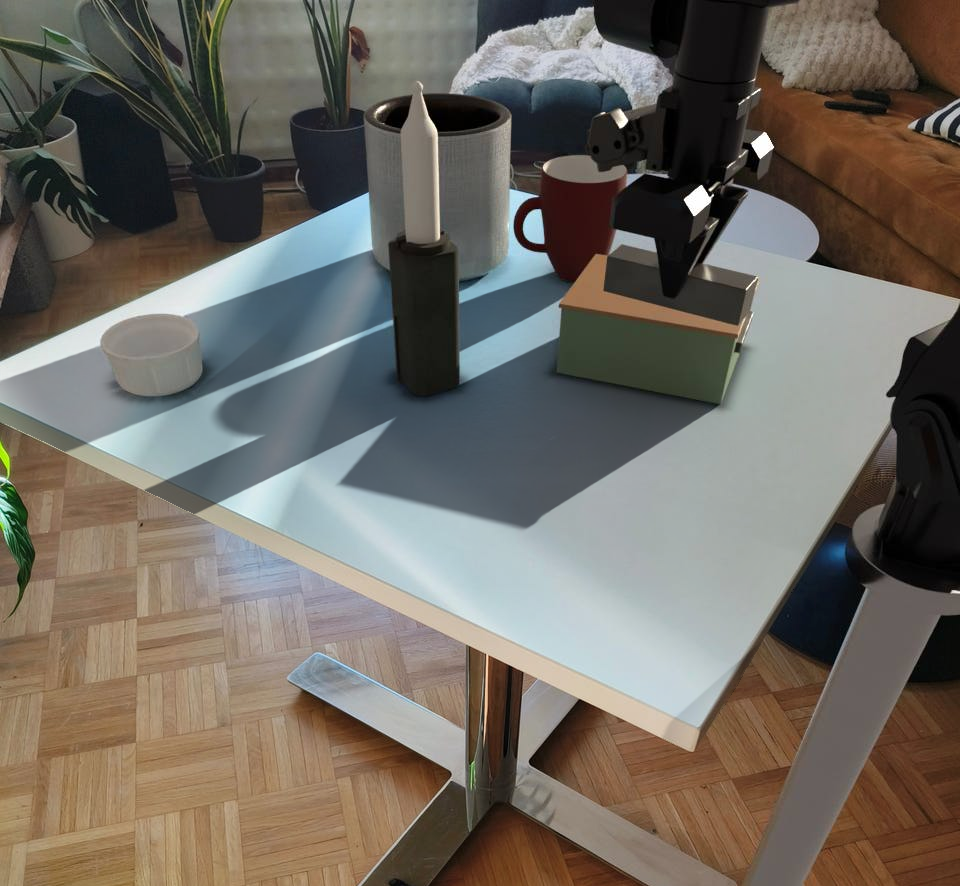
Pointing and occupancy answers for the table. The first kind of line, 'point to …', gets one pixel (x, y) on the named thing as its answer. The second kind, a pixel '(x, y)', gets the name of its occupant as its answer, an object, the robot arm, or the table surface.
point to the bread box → (644, 342)
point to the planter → (446, 176)
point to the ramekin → (154, 353)
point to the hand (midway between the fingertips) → (677, 289)
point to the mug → (573, 213)
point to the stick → (700, 294)
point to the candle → (424, 267)
